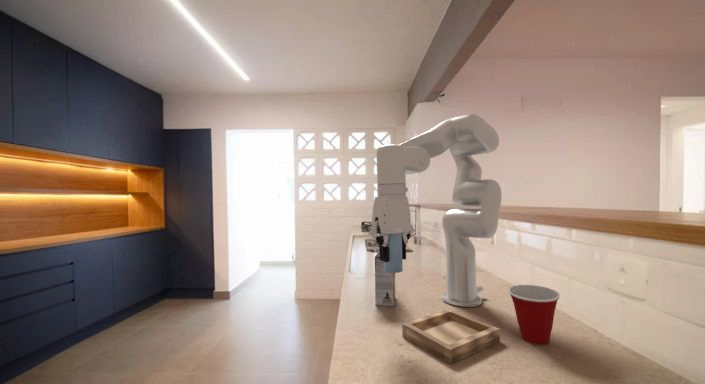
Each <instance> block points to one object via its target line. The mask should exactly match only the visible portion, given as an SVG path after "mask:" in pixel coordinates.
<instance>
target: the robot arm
mask: <svg viewBox="0 0 705 384" xmlns="http://www.w3.org/2000/svg"><path fill="white" fill-rule="evenodd" d="M499 145H500V137H499V135H498V132H497V130H496V129H495V128H494V127H493V126H492V125H491V124H489V123H488V122H487V121H486V120H485V119H484V118H482V117H481V116H480V115H478V114H475V113H467V114H463V115H459V116H455V117H451V118H447V119H445V120H444V121H441V122H440V123H438V124H437V125H435V126H434V127H432V128H431V129H429V130H427V131H425V132H423V133H420V134H419V135H417V136H415V137H412V138H410V139H409V140H406V141H404V142H402V143H400V144H396V143H395V144H393V143H392V144H384V145H381V146H379V147H377V150H376V177H377V178H376V184H377V185H376V186H377V196H374V200H373V206H372V216H371V229H369V232H368V236H369V237H370V238H371V239H373V241H374V242H375V243H376V244H377V246H379V247H378V249H379V251H378V252H379V255H380V260H381V261H384V262H389V247H388V246H387V242H388V237H389V235H391V234H392V233H393V229H394V228H395V227H402V258H403V260H406V259H407V245H408V243H409V240H410V238H411V236H413V234H414V233H415V228H414V227H413V225H412V223H411V221H412V220H411V209H410V204H409V198H408V196H407V193H408V191H409V189H408V187H407V186H406V183H407V182H406V175H414V174H415V175H416V174H420V173H423V172H425V171H426V170H427V169H428V168H429V166H430V164H431V159H433V158H437V157H438V156H441V155H442V154H444V153H445V152H446V151H448V150H449V151H450V154H451V156H452V159H453V160H454V163H455V166H456V173H455V174H456V175H455V179H454V184H453V190H452V202H453V204H454V205H456V206H458V207H462V208H452V209H449V210H447V211H446V212H445V213H444V214H443V215H442V221H441V223H442V228H443V233H444V239H445V240H444V241H445V265H446V266H445V269H446V270H445V271H446V274H445V276H446V292H444V293H443V294H441V295H442V296H441V299H442V300H443V301H444V302H445V303H447V304H450V305H452V306H456V307H462V308H463V307H464V308H473V307H474V308H475V307H478V306H481V305H482V304H483V303H482V297H480V296H478V294H479V293H481V292H483V291H484V287H483V286H482V285H478V286H477V270H476V267H477V266H476V249H475V248H476V247H475V246H474V244H473V242H472V240H471V239H470V238H472V239H473V238H474V239H475V238H476V239H485V240H486V239H487V240H488V239H491V238H493V237H494V236H495V234H496V233H497V230H498V226H499V219H500V214H501V213H500V211H501V206H502V205H501V204H502V194H503V193H502V188H501V186H500V184H499V183H498V181H496V180H494V179H489V178H485V179H482V175H483V174H482V172H483V169H482V167H481V166H480V164H479V163H478V161H476V160H475V159H474V157H473V156H475V155H477V156H478V155H481V154H483V155H484V154H490V153H493V152H495V151H496V150H497V149H498V147H499ZM463 207H464V208H463ZM383 236H384V237H383Z"/></svg>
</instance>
